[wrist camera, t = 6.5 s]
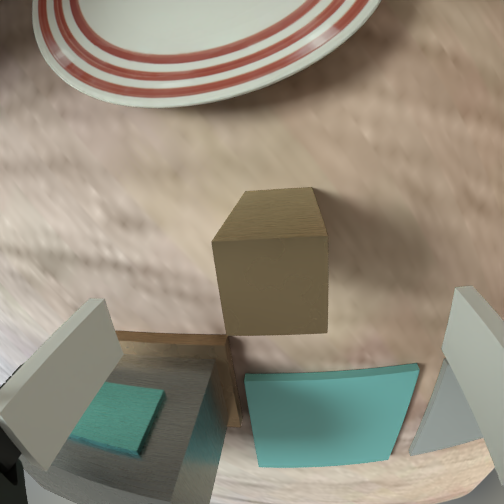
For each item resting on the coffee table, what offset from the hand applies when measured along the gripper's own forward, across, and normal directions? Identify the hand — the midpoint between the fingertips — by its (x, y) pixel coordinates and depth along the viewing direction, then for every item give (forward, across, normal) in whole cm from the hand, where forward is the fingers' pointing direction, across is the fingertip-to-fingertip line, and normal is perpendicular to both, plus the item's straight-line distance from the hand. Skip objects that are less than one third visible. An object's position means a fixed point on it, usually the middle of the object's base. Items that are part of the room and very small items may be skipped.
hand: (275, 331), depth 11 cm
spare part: (+12, 0, 0) cm, 12 cm away
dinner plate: (+12, -4, +22) cm, 26 cm away
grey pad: (+13, +23, -22) cm, 34 cm away
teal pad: (+13, +4, -22) cm, 25 cm away
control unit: (+12, -14, -14) cm, 24 cm away
